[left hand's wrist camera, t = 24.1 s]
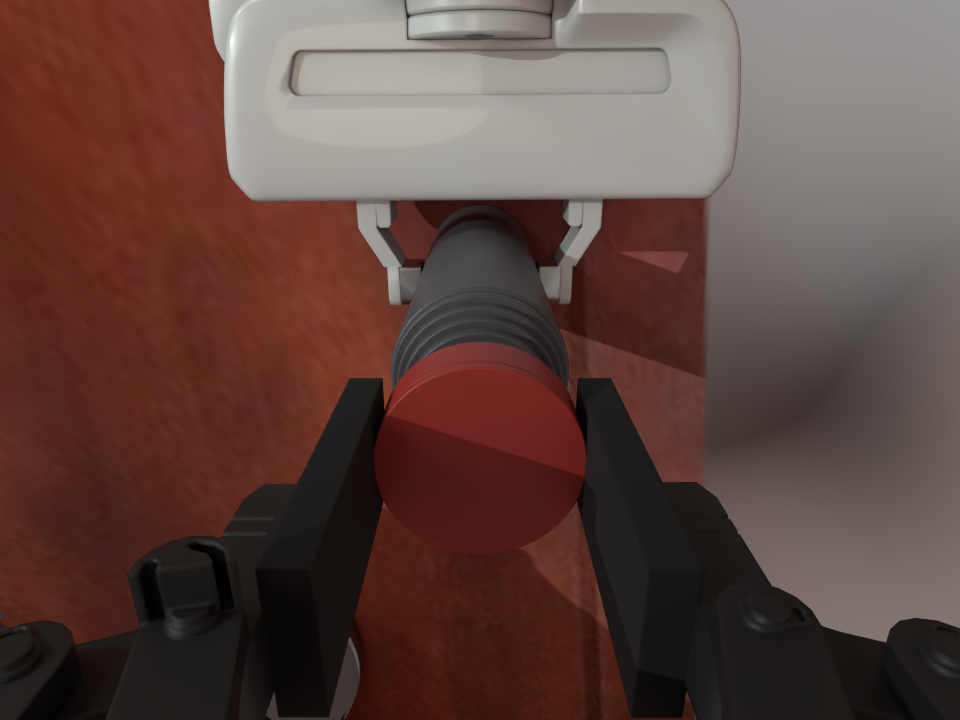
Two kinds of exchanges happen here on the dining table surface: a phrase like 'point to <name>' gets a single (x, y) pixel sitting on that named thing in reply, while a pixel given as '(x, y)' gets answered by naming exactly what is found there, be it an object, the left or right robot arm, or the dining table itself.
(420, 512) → the cap
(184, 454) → the dining table surface
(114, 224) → the dining table surface
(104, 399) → the dining table surface
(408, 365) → the bottle
